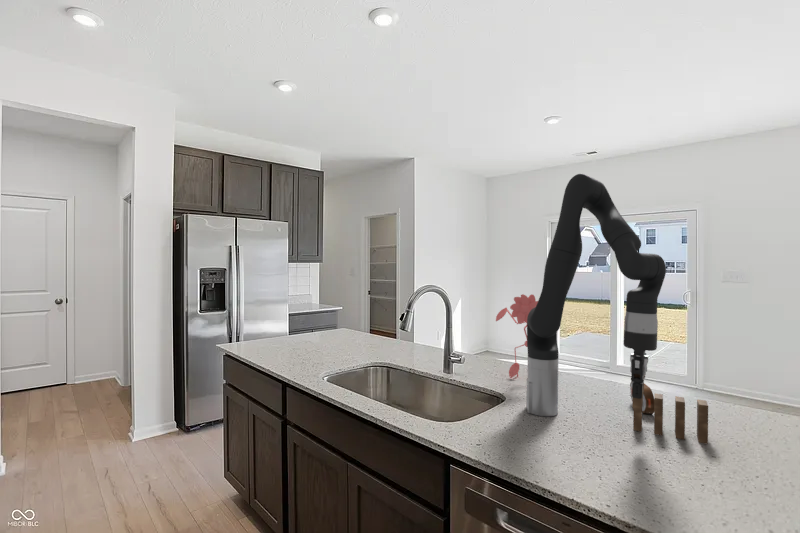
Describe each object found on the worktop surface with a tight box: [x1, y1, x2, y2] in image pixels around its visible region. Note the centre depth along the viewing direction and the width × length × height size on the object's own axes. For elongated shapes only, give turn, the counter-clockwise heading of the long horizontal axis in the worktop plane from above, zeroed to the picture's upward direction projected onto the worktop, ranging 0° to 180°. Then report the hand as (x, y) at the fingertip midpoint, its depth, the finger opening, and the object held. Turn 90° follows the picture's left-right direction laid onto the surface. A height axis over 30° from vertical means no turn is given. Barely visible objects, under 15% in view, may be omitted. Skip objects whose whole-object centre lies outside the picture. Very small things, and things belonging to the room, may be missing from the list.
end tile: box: [631, 368, 645, 410], centre depth 109 cm, size 2×5×10 cm, turn 146°
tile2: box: [653, 392, 664, 437], centre depth 117 cm, size 2×5×10 cm, turn 149°
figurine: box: [495, 293, 538, 379], centre depth 167 cm, size 15×26×35 cm, turn 61°
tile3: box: [674, 396, 686, 441], centre depth 114 cm, size 2×5×10 cm, turn 149°
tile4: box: [696, 399, 709, 445], centre depth 112 cm, size 2×5×10 cm, turn 148°
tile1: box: [632, 409, 643, 433], centre depth 120 cm, size 2×5×10 cm, turn 149°
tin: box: [629, 382, 654, 415], centre depth 136 cm, size 15×3×8 cm, turn 168°
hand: (637, 395), depth 109 cm, fingers closed on end tile, 5 cm apart
